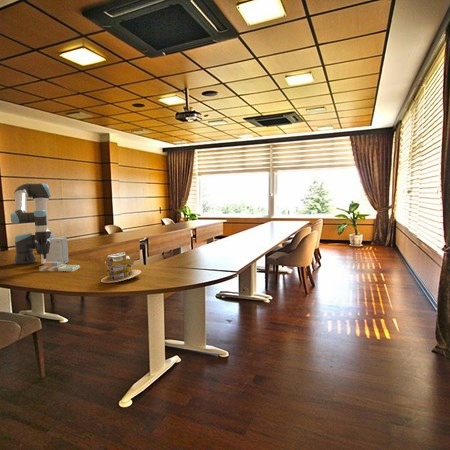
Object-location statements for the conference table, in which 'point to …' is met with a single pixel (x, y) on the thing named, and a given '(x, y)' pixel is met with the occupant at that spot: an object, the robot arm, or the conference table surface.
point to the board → (50, 268)
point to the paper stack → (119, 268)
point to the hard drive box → (58, 250)
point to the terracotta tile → (48, 263)
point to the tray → (69, 268)
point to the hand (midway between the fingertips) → (43, 263)
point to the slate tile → (55, 263)
